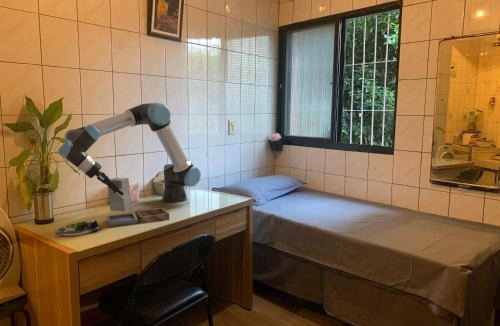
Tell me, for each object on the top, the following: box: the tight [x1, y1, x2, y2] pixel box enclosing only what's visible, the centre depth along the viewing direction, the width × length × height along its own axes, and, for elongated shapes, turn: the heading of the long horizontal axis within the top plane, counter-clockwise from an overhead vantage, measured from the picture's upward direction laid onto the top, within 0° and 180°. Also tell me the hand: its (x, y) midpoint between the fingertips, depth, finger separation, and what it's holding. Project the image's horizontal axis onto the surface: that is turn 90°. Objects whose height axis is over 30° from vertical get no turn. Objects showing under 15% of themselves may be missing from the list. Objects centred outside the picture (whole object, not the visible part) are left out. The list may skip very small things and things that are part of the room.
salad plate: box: [55, 219, 101, 237], centre depth 171 cm, size 19×18×5 cm
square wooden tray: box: [135, 207, 170, 224], centre depth 192 cm, size 14×14×3 cm
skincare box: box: [107, 177, 132, 212], centre depth 183 cm, size 8×7×16 cm
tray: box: [106, 212, 139, 228], centre depth 185 cm, size 13×13×2 cm
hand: (126, 196), depth 184 cm, fingers closed on skincare box, 10 cm apart
